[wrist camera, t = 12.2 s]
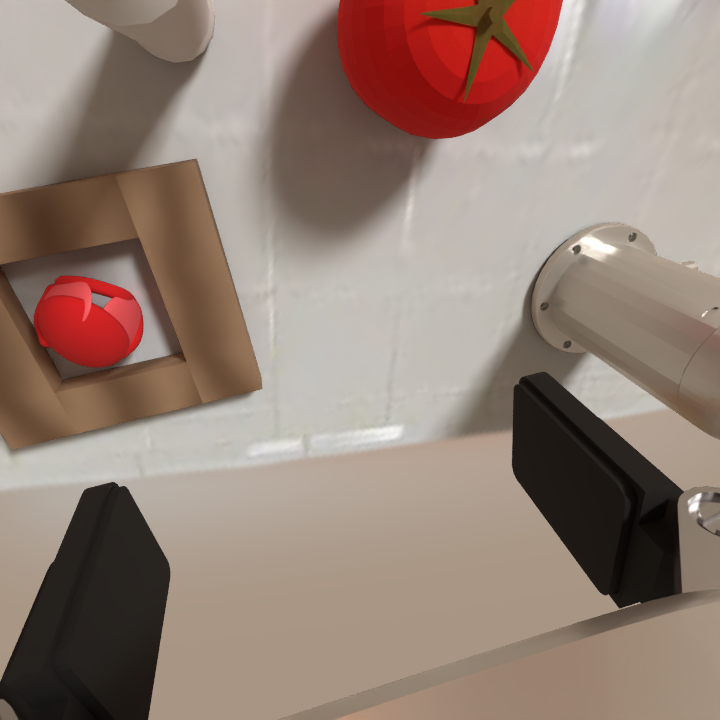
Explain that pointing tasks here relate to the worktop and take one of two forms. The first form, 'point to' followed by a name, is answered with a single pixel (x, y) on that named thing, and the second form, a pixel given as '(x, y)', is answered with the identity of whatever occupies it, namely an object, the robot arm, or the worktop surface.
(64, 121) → the worktop surface
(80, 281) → the red rounded piece
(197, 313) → the walnut board
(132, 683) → the robot arm
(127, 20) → the bottle
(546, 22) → the tomato
